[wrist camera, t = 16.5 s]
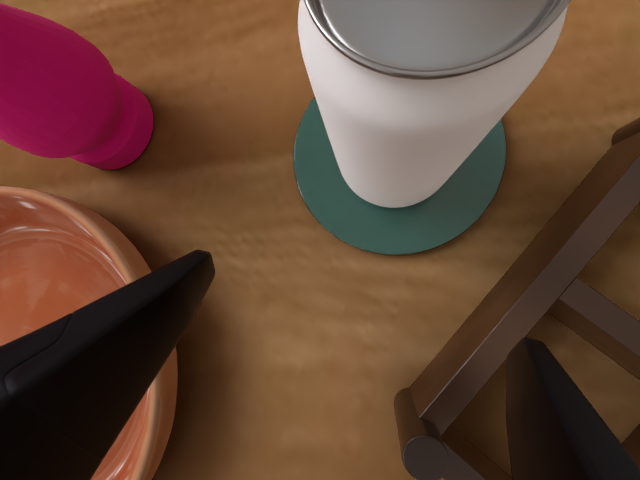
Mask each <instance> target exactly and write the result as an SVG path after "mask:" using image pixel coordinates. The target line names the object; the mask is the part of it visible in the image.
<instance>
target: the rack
mask: <svg viewBox="0 0 640 480" xmlns="http://www.w3.org/2000/svg"><path fill="white" fill-rule="evenodd" d="M639 202H640V118H638V119H636V120H634V121H632V122H631V123H629V124H627V125H625V126H623V127H622V128H620V129H618V130H617V131H616V132H615V134H614V135H613V137H612V147H611V148H610V149H609V150H608V151H607V153H606V154H605V155H604V156H603V157H602V159H601V160H600V161H599V162H598V163H597V164H596V166H595V167H594V168H593V169H592V170H591V172H590V173H589V174H588V175H587V176H586V178H585V179H584V180H583V181H582V182H581V184H580V185H579V186H578V187H577V188H576V190H575V191H574V192H573V193H572V194H571V196H570V197H569V198H568V199H567V200H566V202H565V203H564V204H563V205H562V206H561V208H560V209H559V210H558V211H557V212H556V213H555V215H554V216H553V217H552V218H551V219H550V221H549V222H548V223H547V224H546V225H545V227H544V228H543V229H542V230H541V231H540V233H539V234H538V235H537V236H536V237H535V239H534V240H533V241H532V242H531V243H530V245H529V246H528V247H527V248H526V249H525V251H524V252H523V253H522V254H521V255H520V257H519V258H518V259H517V260H516V261H515V263H514V264H513V265H512V266H511V267H510V268H509V270H508V271H507V272H506V273H505V274H504V276H503V277H502V278H501V279H500V280H499V282H498V283H497V284H496V285H495V286H494V288H493V289H492V290H491V291H490V292H489V294H488V295H487V296H486V297H485V298H484V300H483V301H482V302H481V303H480V304H479V306H478V307H477V308H476V309H475V310H474V312H473V313H472V314H471V315H470V316H469V317H468V319H467V320H466V321H465V322H464V323H463V325H462V326H461V327H460V328H459V329H458V331H457V332H456V333H455V334H454V335H453V337H452V338H451V339H450V340H449V341H448V343H447V344H446V345H445V346H444V347H443V349H442V350H441V351H440V352H439V353H438V355H437V356H436V357H435V358H434V359H433V361H432V362H431V363H430V364H429V365H428V366H427V368H426V369H425V370H424V371H423V372H422V374H421V375H420V376H419V377H418V378H417V380H416V381H415V382H414V383H413V384H412V386H411V387H410V388H406V389H403V390H401V391H400V392H398V393H397V395H396V397H395V399H394V408H395V415H396V421H397V428H398V434H399V440H400V447H401V453H402V459H403V463H404V466H405V468H406V470H407V471H408V472H409V473H410V474H411V475H412V476H413V477H414V478H416V479H417V480H439V479H441V478H442V477H443V478H445V479H446V480H512V478H511V477H509V476H508V475H507V474H506V473H505V472H504V471H503V470H501V469H500V468H499V467H498V466H497V465H496V464H495V463H493V462H492V461H491V460H490V459H489V458H488V457H486V456H485V455H484V454H483V453H482V452H481V451H480V450H478V449H477V448H476V447H475V446H474V445H473V444H471V443H470V442H469V441H468V440H467V439H466V438H465V437H463V436H462V435H461V434H460V433H459V432H458V431H456V430H455V429H454V428H453V427H452V426H451V424H452V422H453V421H454V420H455V419H456V418H457V416H458V415H459V414H460V413H461V412H462V411H463V409H464V408H465V407H466V406H467V405H468V403H469V402H470V401H471V400H472V399H473V398H474V396H475V395H476V394H477V393H478V392H479V391H480V389H481V388H482V387H483V386H484V385H485V383H486V382H487V381H488V380H489V379H490V378H491V376H492V375H493V374H494V373H495V372H496V371H497V369H498V368H499V367H500V366H501V365H502V363H503V362H504V361H505V360H506V359H507V356H508V354H509V352H510V351H511V350H512V349H513V348H514V346H515V345H516V344H517V343H518V342H519V341H520V340H521V339H522V338H525V336H526V335H527V334H528V333H529V332H530V330H531V329H532V328H533V327H534V326H535V325H536V323H537V322H538V321H539V320H540V319H541V318H542V316H543V315H544V314H545V313H546V312H549V313H550V314H551V315H553V316H554V317H556V318H557V319H558V320H560V321H561V322H562V323H564V324H565V325H566V326H568V327H569V328H570V329H572V330H573V331H574V332H576V333H577V334H578V335H580V336H581V337H583V338H584V339H585V340H587V341H588V342H589V343H591V344H592V345H593V346H595V347H596V348H597V349H599V350H600V351H601V352H603V353H604V354H606V355H607V356H608V357H610V358H611V359H612V360H614V361H615V362H616V363H618V364H619V365H620V366H622V367H623V368H624V369H626V370H627V371H629V372H630V373H631V374H633V375H634V376H635V377H637V378H638V379H639V380H640V322H639V321H638V320H637V319H635V318H634V317H632V316H631V315H629V314H628V313H627V312H625V311H624V310H622V309H621V308H620V307H618V306H617V305H615V304H614V303H612V302H611V301H610V300H608V299H607V298H605V297H604V296H603V295H601V294H600V293H598V292H597V291H595V290H594V289H593V288H591V287H590V286H588V285H587V284H585V283H584V282H583V281H581V280H580V279H578V278H576V276H577V275H578V274H579V273H580V272H581V270H582V269H583V268H584V267H585V266H586V264H587V263H588V262H589V261H590V260H591V259H592V257H593V256H594V255H595V254H596V253H597V252H598V250H599V249H600V248H601V247H602V246H603V244H604V243H605V242H606V241H607V240H608V239H609V237H610V236H611V235H612V234H613V233H614V232H615V230H616V229H617V228H618V227H619V226H620V224H621V223H622V222H623V221H624V220H625V219H626V217H627V216H628V215H629V214H630V213H631V211H632V210H633V209H634V208H635V207H636V206H637V204H638V203H639ZM622 446H623V447H624V448H625V450H626V451H627V452H628V454H629V455H630V456H631V458H632V459H633V460H634V461H635V463H636V464H637V465H638V467H639V468H640V424H639V425H638V427H637V428H636V429H635V430H634V431H633V432H632V433H631V435H630V436H629V437H628V438H627V439H626V440H625V441H624V442H623V444H622Z"/></svg>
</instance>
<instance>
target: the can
mask: <svg viewBox="0 0 640 480" xmlns="http://www.w3.org/2000/svg"><path fill="white" fill-rule="evenodd" d="M570 1H571V0H300V3H299V12H298V33H299V40H300V46H301V51H302V56H303V59H304V63H305V66H306V70H307V73H308V76H309V80H310V83H311V86H312V89H313V92H314V95H315V98H316V101H317V104H318V107H319V110H320V113H321V116H322V119H323V122H324V125H325V128H326V131H327V134H328V137H329V140H330V143H331V146H332V149H333V152H334V155H335V157H336V160H337V163H338V166H339V169H340V171H341V174H342V176H343V178H344V180H345V181H346V183H347V184H348V186H349V187H350V188H351V189H352V191H353V192H354V193H356V194H357V195H358V196H359V197H361V198H362V199H364V200H365V201H367V202H369V203H372V204H374V205H378V206H382V207H388V208H399V207H406V206H410V205H414V204H416V203H419V202H421V201H423V200H425V199H426V198H428V197H430V196H431V195H432V194H434V193H435V192H436V191H437V190H438V189H439V188H440V187H441V186H442V185H443V184H444V183H445V182H446V181H447V180H448V178H449V177H450V176H451V175H452V174H453V173H454V172H455V171H456V169H457V168H458V167H459V166H460V165H461V164H462V163H463V162H464V160H465V159H466V158H467V157H468V156H469V155H470V154H471V152H472V151H473V150H474V149H475V148H476V147H477V146H478V144H479V143H480V142H481V141H482V140H483V139H484V138H485V136H486V135H487V134H488V133H489V132H490V131H491V129H492V128H493V127H494V126H495V125H496V124H497V123H498V121H499V120H500V119H501V118H502V117H503V116H504V114H505V113H506V112H507V111H508V110H509V109H510V107H511V106H512V105H513V104H514V103H515V102H516V100H517V99H518V98H519V97H520V96H521V94H522V93H523V92H524V91H525V89H526V88H527V87H528V86H529V84H530V83H531V82H532V81H533V79H534V78H535V77H536V76H537V74H538V73H539V71H540V70H541V68H542V67H543V65H544V64H545V62H546V61H547V59H548V58H549V56H550V54H551V53H552V51H553V49H554V47H555V45H556V43H557V40H558V38H559V36H560V33H561V30H562V27H563V24H564V20H565V16H566V12H567V7H568V4H569V2H570Z"/></svg>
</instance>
